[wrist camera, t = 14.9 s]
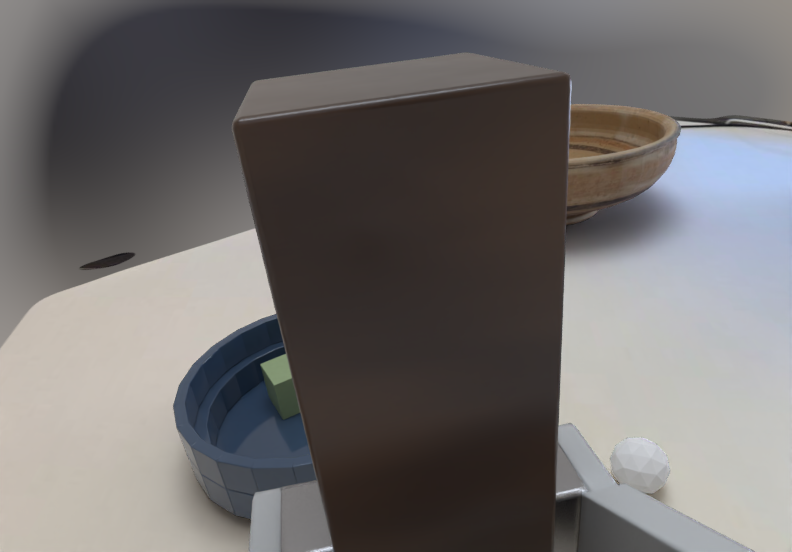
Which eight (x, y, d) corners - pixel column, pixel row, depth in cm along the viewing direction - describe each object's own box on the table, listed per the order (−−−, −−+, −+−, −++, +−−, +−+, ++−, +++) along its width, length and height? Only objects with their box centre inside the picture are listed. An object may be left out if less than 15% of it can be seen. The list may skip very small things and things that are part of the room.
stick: (407, 859, 12) (229, 119, 5) (384, 696, 15) (249, 80, 7) (545, 816, 12) (576, 70, 5) (496, 666, 15) (471, 51, 8)
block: (283, 420, 37) (273, 385, 35) (268, 397, 39) (259, 363, 38) (323, 402, 38) (316, 367, 36) (307, 381, 40) (299, 347, 39)
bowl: (176, 565, 28) (146, 499, 26) (212, 379, 43) (195, 327, 41) (474, 495, 30) (470, 428, 28) (412, 340, 45) (406, 287, 43)
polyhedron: (631, 456, 32) (636, 417, 30) (678, 490, 29) (685, 449, 28) (596, 479, 30) (600, 439, 29) (642, 516, 28) (648, 474, 27)
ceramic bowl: (630, 297, 47) (642, 187, 43) (367, 250, 62) (355, 165, 58) (692, 172, 74) (703, 96, 69) (497, 161, 89) (496, 98, 84)
